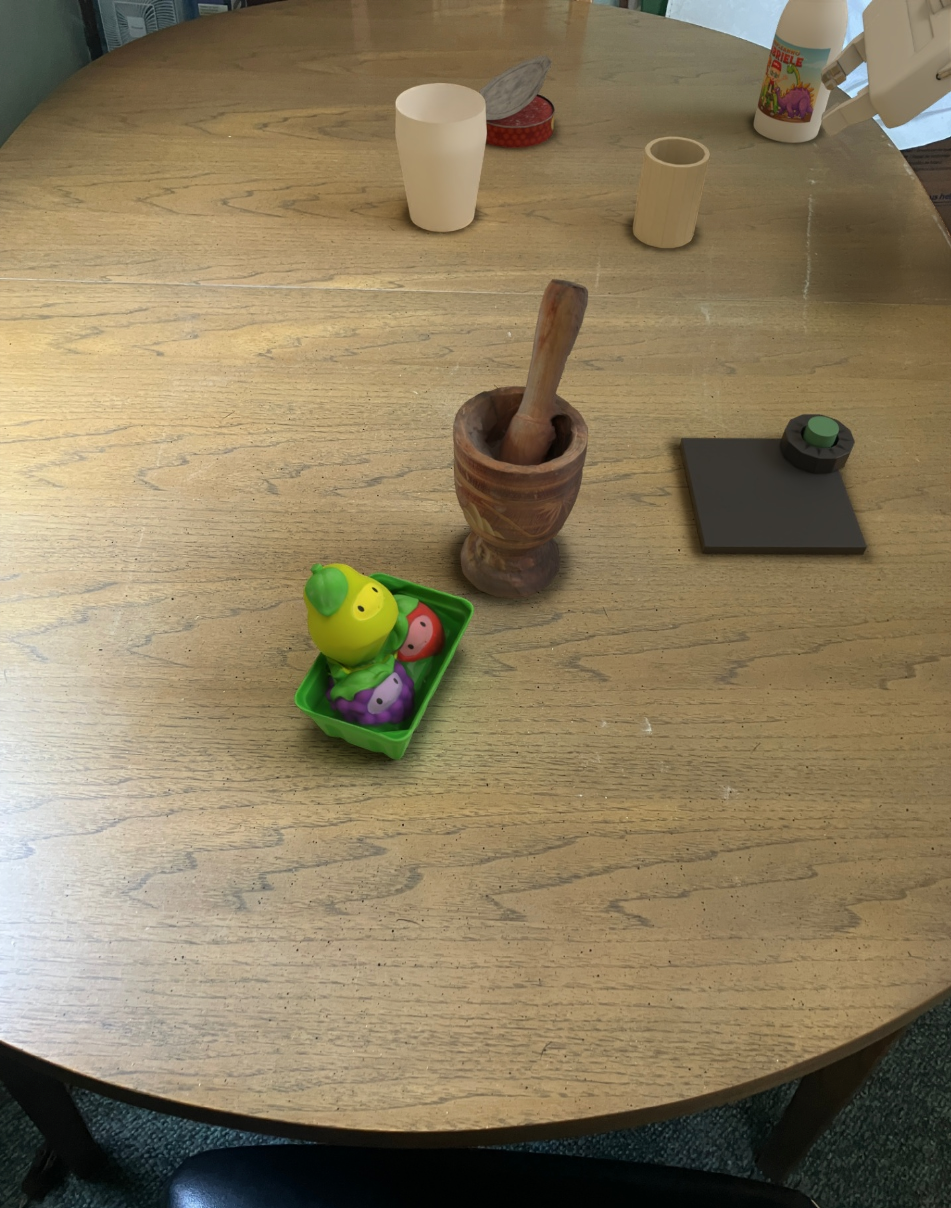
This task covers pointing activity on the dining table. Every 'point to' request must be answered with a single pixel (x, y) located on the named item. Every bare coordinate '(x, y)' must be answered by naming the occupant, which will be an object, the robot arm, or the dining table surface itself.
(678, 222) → the tan hollow cylinder
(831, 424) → the button
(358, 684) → the fruit basket
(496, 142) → the canned food
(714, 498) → the scale
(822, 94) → the milk bottle
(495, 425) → the mortar and pestle
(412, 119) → the cup
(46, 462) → the dining table surface
